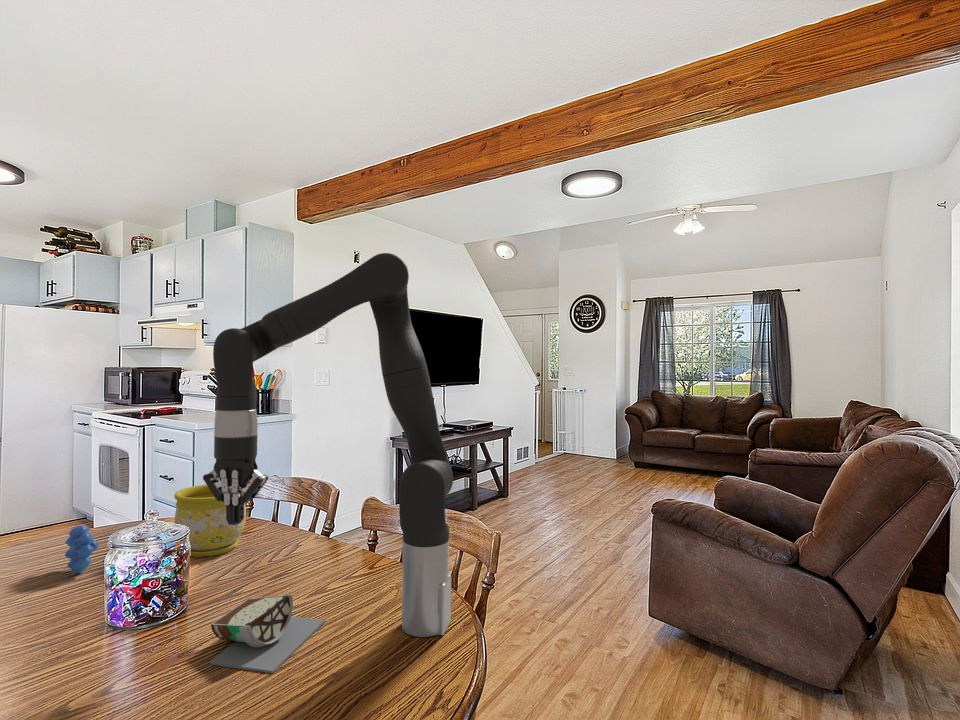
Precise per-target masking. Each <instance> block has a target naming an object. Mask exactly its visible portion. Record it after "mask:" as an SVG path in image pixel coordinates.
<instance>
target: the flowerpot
mask: <svg viewBox="0 0 960 720" xmlns="http://www.w3.org/2000/svg"><path fill="white" fill-rule="evenodd" d="M174 499H175V500H176V503H175V514H174V523H175V524H181V525H185V526H187V527H189V529H190V534H189V541H190V545H191V556H190V557H192V558H193V557H194V558H205V556H209V557H214V555H215V556H219V554H220V555H223V554H226V553H228V552H231V551H232V550H234V549H235V548H236V545H238V544H239V542H240V539H239V537H240V536H241V534H242V532H243V531H244V528H245V526H246V521H247V508H246V507H247V506H246V503H245V504H244V519H243V520H242V522H241V523H239V524H237V525H229V524H228V521H227V520H226V505H225V503H224V502H222V501H217V500H216V498H215V497H214V495H213V494H212V492H211V490H210V489H209V487H208V486H207V484H206V483H205V484H200V485H198V484H197V485H193V486H188V487H186V488H182V489H179V490H177V491H176V492H175V493H174ZM174 523H173V524H174ZM203 556H204V557H203Z"/></svg>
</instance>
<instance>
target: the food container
mask: <svg viewBox="0 0 960 720" xmlns="http://www.w3.org/2000/svg"><path fill="white" fill-rule="evenodd" d="M293 599H294V598H293V594H290V593H284V594H282V595H274V596H264V597H253V598H247V599H246V600H244V601H242V602H241V603H240V604H238V605H237V606H235V607H234V608H232V609H230V610H229V611H228V612H227V613H225V614H224V615H222V616H221V617H220V618H218V619H217V620H215V621H213V622H212V623H211V624H210V627H211V631H212V632H213V634H214V635H215V637H216V638H218V639H219V640H222V641H230V642H235V641H238V642H246V643H247V644H248V645H250V646H252V647H263V646H266V645H269V644H271V643H273V642H275V641H276V640H278V639H279V638H280V637H281V636H282V635H283V633H284V632H285V630H286V629H287V626H288V624H289V622H290V619H291V616H292V614H293V609H294V607H293V606H294V600H293Z"/></svg>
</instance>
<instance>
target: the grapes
mask: <svg viewBox="0 0 960 720" xmlns="http://www.w3.org/2000/svg"><path fill="white" fill-rule="evenodd" d="M90 531H91V529H90V528H89V527H87V525H85V524H84V525H83V524H81V525H76V526H74V527H73V528H71V530H70V532H68V535H69V537H68V538H67V539H66V541H65V544H66V545H67V546H68V547H69V548H68V550H67V551H66V552H65V554H64V556H65V557H66V558H68V559H69V562H68V563H67V564H66V565H67V567H68V568H69V569H71V571H72V572H74V573H75V574H78V575H79V574H82V573H83V572H84V571H86V569H87V568H88V567H89V566H90V565H91V563H92V562H93V559H92V558H90V556H91V555H92V554H93V553H94V552H95V551H96V550H97V549H98V548H99V546H100V545H101V544H100V542H99V541H97V540H95V539H94V536H93V535H92V534H91V533H90Z"/></svg>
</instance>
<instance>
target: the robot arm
mask: <svg viewBox="0 0 960 720" xmlns="http://www.w3.org/2000/svg"><path fill="white" fill-rule="evenodd" d="M409 279H410V275H409V269H408V266H407V264H406V262H405V260H403V259H402V258H401V257H399V256H398V255H397V254H394V253H389V252H382V253H378V254H375V255H374V256H372V257H371V258H369V259H367V260H366V261H364V262H363V263H362V264H360V265H358V266H357V267H356V268H353V269H352V270H351V271H350V272H348V273H347V274H345V275H343V276H341V277H340V278H338V279H337V280H335V281H333V282H331V283H329V284H327V285H325V286H323V287H321V288H319V289H317V290H315V291H313V292H311V293H309V294H306V295H305V296H302V297H300V298H299V299H296V300H294V301H291V302H289V303H287V304H285V305H282V306H280V307H278V308H276V309H274V310H271V311H270V312H268V313H266V314H265V315H264V316H263V317H262V318H260V320H257V321H255V322H253V323H250V324H249V325H246V326H244V327H242V328H237V327H236V328H234V327H233V328H228V329H225V330H222V331H221V332H220V333H219V334H218V335H217V337H216V338H215V340H214V342H213V348H212V350H213V351H212V352H213V354H212V355H213V358H212V359H213V367H214V375H215V380H216V395H215V396H216V401H215V402H216V403H215V407H216V408H215V416H214V417H215V418H214V423H213V424H214V429H213V433H214V435H213V437H214V439H213V440H214V441H213V445H214V446H213V457H214V459H215V463H214V464H213V469H212V470H211V471H209V473H205V474H204V475H203V476H202V479H203V482H205V484H207V486H208V487H209V489H210V490H211V492H212V494H213V495H214V497H215V498H216V500H217V501H222V502H224V503H225V505H226V520H227V521H228V524H229V525H237V524H239V523H241V522H242V520H243V519H244V504H245V505H246V503H248V502H250V501H253V500H254V499H255V497H256V496H257V495H258V493H259V492H260V491H261V490H262V489H263V487H264V486H265V485H266V484H267V482H268V480H269V476H268V475H267V474H264V475H263V474H262V473H261V472H260V471H259V470H258V463H257V462H256V458H257V455H258V426H259V425H258V414H257V413H258V412H257V397H258V395H257V394H258V392H257V385H256V382H255V381H254V362H255V361H258V360H259V359H261V358H263V357H265V356H267V355H269V354H270V353H272V352H273V351H275V350H277V349H279V348H281V347H283V346H286V345H287V346H288V344H289V345H290V344H292V343H293V342H296V341H297V340H299V339H302V338H304V337H306V336H308V335H310V334H312V333H314V332H316V331H318V330H319V329H321V328H322V327H324V326H326V325H327V324H329V323H330V322H331V321H332V320H335V319H337V318H338V317H339V316H341V315H343V314H344V313H345V312H347V311H349V310H351V309H354V308H355V307H358V306H361V305H363V304H365V303H369V305H370V307H371V311H372V314H373V318H374V320H375V321H374V322H375V324H376V328H377V336H378V348H379V349H378V350H379V360H380V366H381V367H380V368H381V374H382V379H383V383H384V384H383V385H384V389H385V393H386V398H387V401H388V403H389V407H390V408H391V410H392V412H393V413H394V415H395V418H396V420H397V421H398V423H399V425H400V426H401V428H402V430H403V433H404V435H405V438H406V443H407V447H408V451H409V458H410V465H408V466H407V467H406V468H405V469H404V471H403V472H402V474H401V477H400V479H399V487H398V488H399V489H398V490H399V491H398V503H399V504H398V505H399V506H398V508H399V510H398V511H399V512H398V513H399V514H398V515H399V525H400V529H401V532H402V562H401V563H402V565H401V566H402V570H401V571H402V573H401V576H402V578H401V579H402V580H401V585H402V586H401V628H402V630H403V632H404V633H406V634H407V635H409V636H413V637H419V638H428V637H434V636H444V635H445V633H446V631H447V629H448V627H449V625H450V623H451V621H452V574H450V573H449V571H450V570H449V569H450V566H449V565H450V557H449V555H450V527H449V524H448V523H447V521H446V497H447V496H448V494H449V493H450V491H451V489H452V487H453V483H454V475H453V474H454V472H453V470H452V466H451V464H450V459H449V457H448V454H447V451H446V448H445V444H444V442H443V441H444V440H443V439H442V435H441V432H440V428H439V422H438V416H437V409H436V405H435V400H434V395H433V390H432V383H431V379H430V378H431V377H430V373H429V370H428V365H427V361H426V358H425V355H424V351H423V348H422V346H421V344H420V341H419V339H418V338H419V337H418V336H417V334H416V332H415V331H416V330H415V329H414V326H413V323H412V318H411V312H410V305H409V297H408V283H409ZM250 483H251V484H250ZM249 484H250V485H249Z"/></svg>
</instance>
